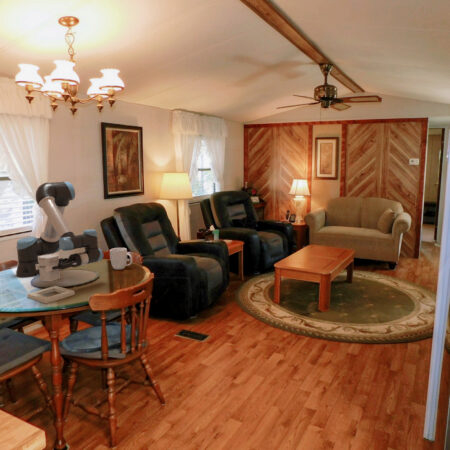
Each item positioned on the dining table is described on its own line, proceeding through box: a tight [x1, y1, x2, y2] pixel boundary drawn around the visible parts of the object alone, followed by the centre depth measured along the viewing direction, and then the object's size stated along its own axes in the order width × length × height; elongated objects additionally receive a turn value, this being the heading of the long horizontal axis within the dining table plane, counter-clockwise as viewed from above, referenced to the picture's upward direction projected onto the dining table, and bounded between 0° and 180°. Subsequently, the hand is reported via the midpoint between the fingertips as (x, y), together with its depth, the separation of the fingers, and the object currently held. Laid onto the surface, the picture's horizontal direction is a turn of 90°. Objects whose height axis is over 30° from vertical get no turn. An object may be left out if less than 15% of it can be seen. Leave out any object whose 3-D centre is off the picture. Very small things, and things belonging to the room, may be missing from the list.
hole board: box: [26, 285, 76, 304], centre depth 227 cm, size 17×17×2 cm
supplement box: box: [38, 254, 61, 282], centre depth 224 cm, size 7×7×13 cm
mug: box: [109, 247, 133, 271], centre depth 281 cm, size 15×11×13 cm
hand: (41, 268), depth 220 cm, fingers closed on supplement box, 8 cm apart
